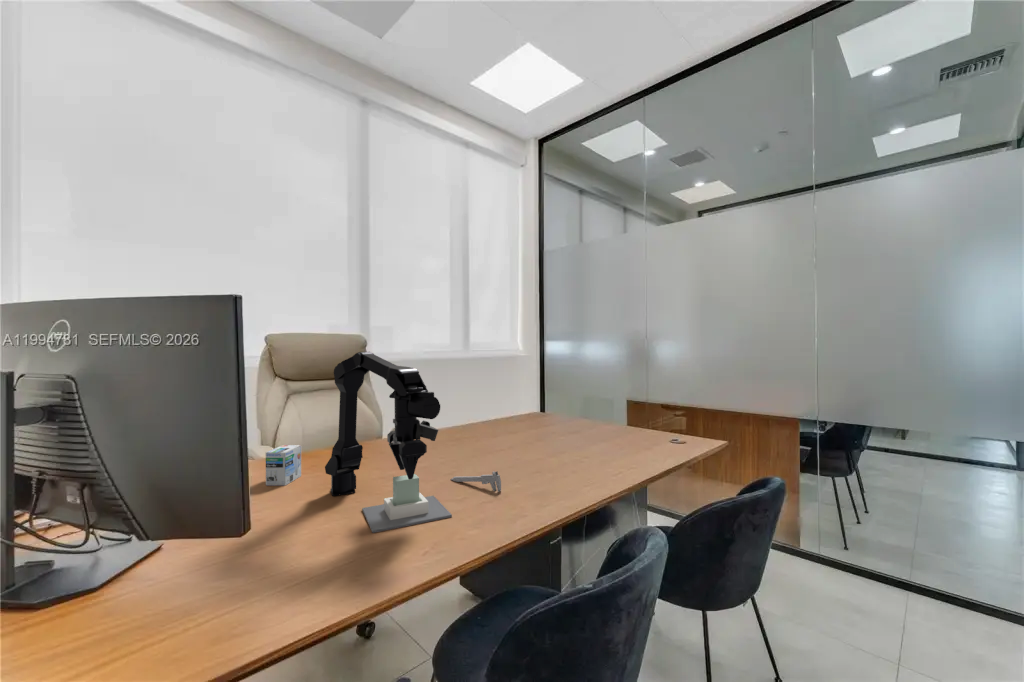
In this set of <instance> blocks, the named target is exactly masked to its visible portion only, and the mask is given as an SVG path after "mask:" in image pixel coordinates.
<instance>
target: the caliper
mask: <svg viewBox="0 0 1024 682" xmlns="http://www.w3.org/2000/svg"><path fill="white" fill-rule="evenodd" d="M450 481H453V482H458V483H460V482H461V483H462V482H464V483H465V482H466V483H468V482H471V483H472V482H475V483H476V482H478V483H479V482H480V483H481V484H482V485H487V484H489V485H490V486H491V488H492V491H493V492H496V491H497V492H498V493H499V492H501V491H502V480H501V475H500V474H499V472H498V471H495V470H493V471H492V472H491V474H481V475H479V476H478V475H477V476H463V475H462V476H453V477H452V478H450Z"/></svg>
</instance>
